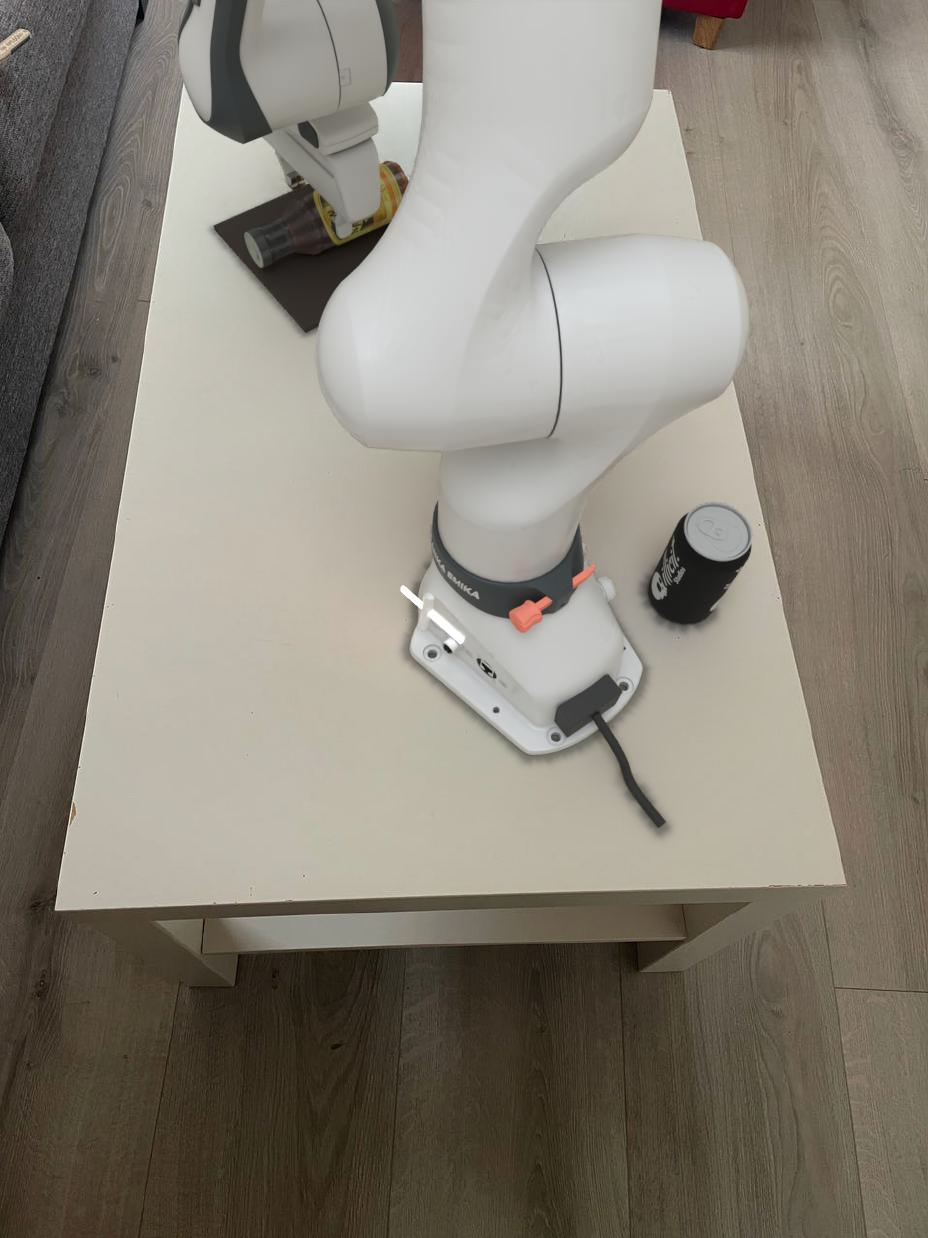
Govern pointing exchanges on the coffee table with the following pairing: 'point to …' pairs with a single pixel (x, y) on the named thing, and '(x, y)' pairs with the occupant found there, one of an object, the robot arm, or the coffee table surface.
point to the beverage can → (700, 562)
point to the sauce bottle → (321, 222)
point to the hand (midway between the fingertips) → (318, 209)
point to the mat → (298, 261)
